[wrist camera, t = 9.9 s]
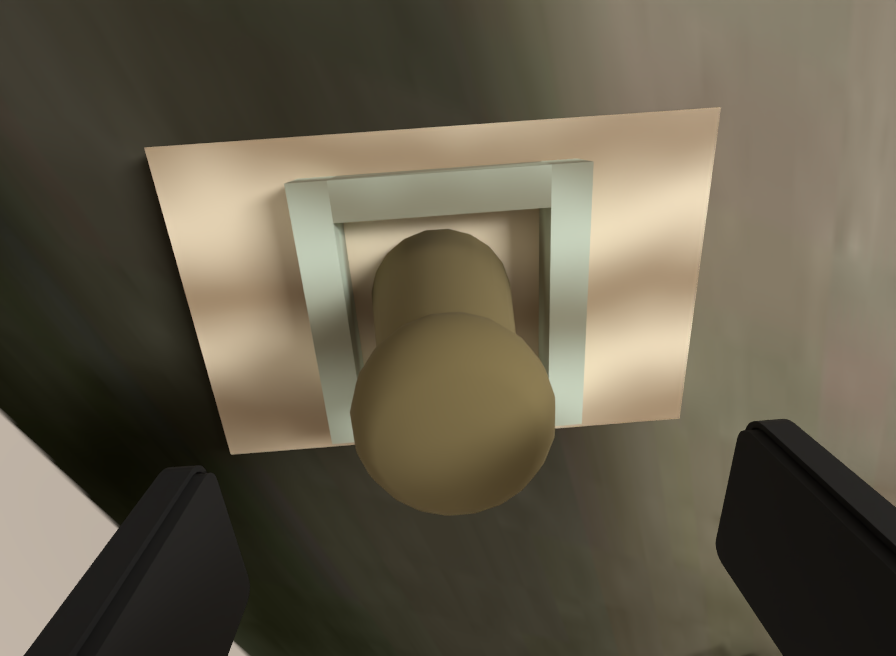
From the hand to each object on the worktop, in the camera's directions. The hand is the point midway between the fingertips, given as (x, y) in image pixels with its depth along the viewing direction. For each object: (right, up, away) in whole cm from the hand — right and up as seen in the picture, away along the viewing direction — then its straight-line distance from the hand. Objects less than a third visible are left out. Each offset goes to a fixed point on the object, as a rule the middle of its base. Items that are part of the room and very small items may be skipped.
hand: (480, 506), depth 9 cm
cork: (-1, +5, +12) cm, 13 cm away
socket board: (-1, +5, +14) cm, 15 cm away
